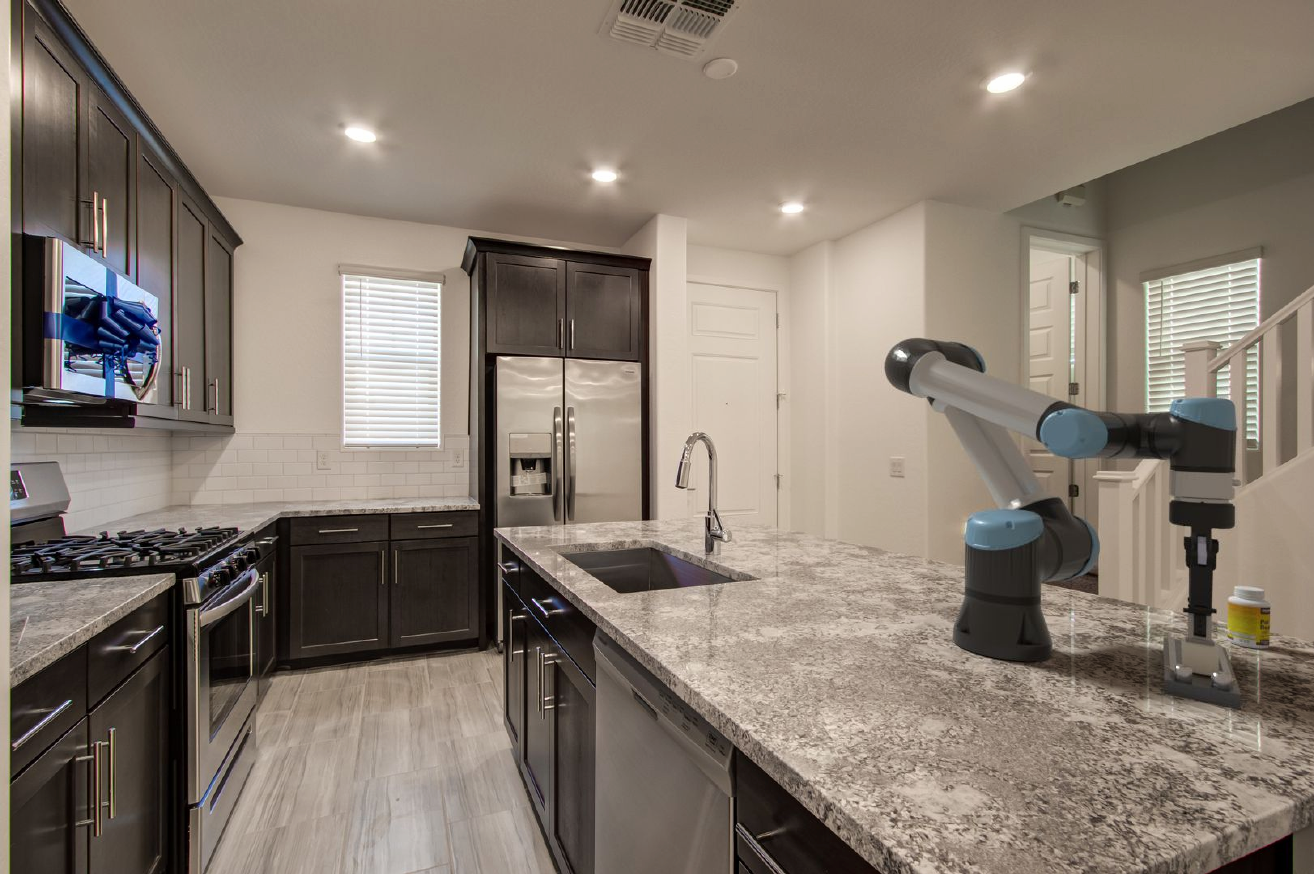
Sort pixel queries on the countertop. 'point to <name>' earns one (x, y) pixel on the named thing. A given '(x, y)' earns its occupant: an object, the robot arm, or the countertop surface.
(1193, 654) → the fader tab
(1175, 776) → the countertop surface
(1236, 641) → the supplement bottle
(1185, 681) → the console
